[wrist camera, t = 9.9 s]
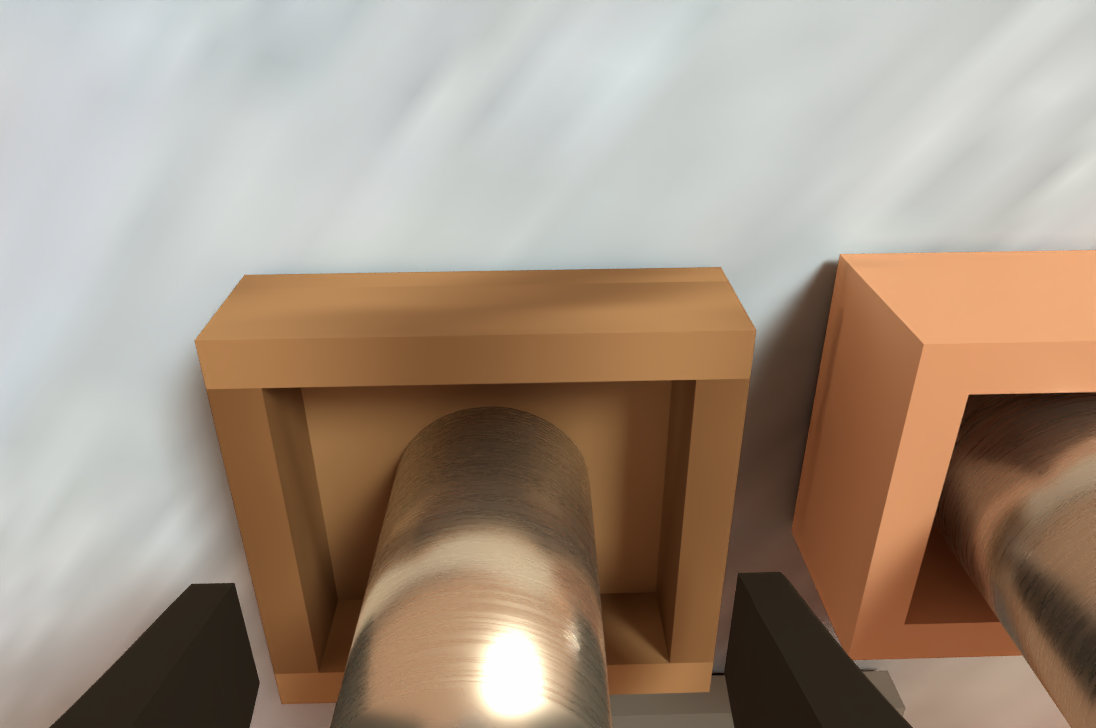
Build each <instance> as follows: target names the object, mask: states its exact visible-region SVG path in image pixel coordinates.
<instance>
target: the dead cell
mask: <svg viewBox="0 0 1096 728" xmlns="http://www.w3.org/2000/svg"><path fill="white" fill-rule="evenodd" d="M933 523H934V525H935V526H936V528H937V529H938V531H939V532H940V534H941V535H942V537H943V538H944V540H945V541H946V543H947V544H948V546H949V547H950V549H951V550H952V552H953V553H954V554H955V556H956V557H957V559H958V560H959V562H960V563H961V565H962V566H963V568H964V569H965V571H966V572H967V574H968V575H969V577H970V578H971V580H972V581H973V583H974V584H975V586H976V587H977V589H978V590H979V592H980V593H981V594H982V596H983V597H984V599H985V600H986V602H987V603H988V605H989V606H990V608H991V609H992V611H993V612H994V614H995V615H996V617H997V618H998V620H999V621H1000V623H1001V624H1002V626H1003V627H1004V629H1005V630H1006V631H1007V633H1008V634H1009V636H1010V637H1011V639H1012V640H1013V642H1014V643H1015V645H1016V646H1017V648H1018V649H1019V651H1020V652H1021V654H1022V655H1023V657H1024V658H1025V660H1026V661H1027V663H1028V664H1029V666H1030V667H1031V669H1032V670H1033V671H1034V673H1035V674H1036V676H1037V677H1038V679H1039V680H1040V682H1041V683H1042V685H1043V686H1044V688H1045V689H1046V691H1047V692H1048V694H1049V695H1050V697H1051V698H1052V700H1053V701H1054V703H1055V704H1056V706H1057V707H1058V708H1059V710H1060V711H1061V713H1062V714H1063V716H1064V717H1065V719H1066V720H1067V722H1068V723H1069V725H1070V726H1071V728H1096V392H1071V393H1020V394H970V395H968V399H967V402H966V406H965V410H964V413H963V417H962V420H961V424H960V427H959V431H958V434H957V438H956V442H955V445H954V449H953V452H952V456H951V459H950V463H949V467H948V470H947V474H946V477H945V481H944V484H943V488H942V492H941V495H940V499H939V502H938V506H937V509H936V513H935V517H934V520H933Z"/></svg>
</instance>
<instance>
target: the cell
mask: <svg viewBox="0 0 1096 728" xmlns="http://www.w3.org/2000/svg"><path fill="white" fill-rule="evenodd" d="M330 728H612V720H611V709H610V697H609V686H608V675H607V664H606V653H605V642H604V631H603V620H602V609H601V598H600V587H599V576H598V565H597V554H596V543H595V532H594V521H593V510H592V499H591V488H590V478H589V473H588V469H587V466H586V463H585V461H584V458H583V456H582V455H581V453H580V451H579V449H578V448H577V447H576V445H575V444H574V443H573V442H572V440H571V439H570V438H569V437H568V436H567V435H566V434H565V433H564V432H563V431H561V430H560V429H559V428H557V427H556V426H555V425H553V424H552V423H550V422H548V421H546V420H544V419H543V418H541V417H538V416H536V415H533V414H531V413H528V412H525V411H521V410H518V409H512V408H506V407H493V406H487V407H474V408H469V409H463V410H460V411H457V412H453V413H450V414H448V415H446V416H443V417H441V418H439V419H437V420H436V421H434V422H432V423H431V424H429V425H428V426H426V427H425V428H424V429H423V430H421V431H420V432H419V433H418V434H417V435H416V436H415V437H414V438H413V439H412V440H411V442H410V443H409V445H408V446H407V447H406V449H405V451H404V453H403V455H402V457H401V459H400V461H399V465H398V468H397V472H396V475H395V479H394V483H393V487H392V491H391V495H390V499H389V503H388V506H387V510H386V514H385V518H384V522H383V526H382V530H381V533H380V537H379V541H378V545H377V549H376V553H375V557H374V560H373V564H372V568H371V572H370V576H369V580H368V584H367V587H366V591H365V595H364V599H363V603H362V607H361V611H360V615H359V618H358V622H357V626H356V630H355V634H354V638H353V642H352V645H351V649H350V653H349V657H348V661H347V665H346V669H345V672H344V676H343V680H342V684H341V688H340V692H339V696H338V700H337V703H336V707H335V711H334V715H333V719H332V723H331V727H330Z"/></svg>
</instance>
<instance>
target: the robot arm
mask: <svg viewBox="0 0 1096 728" xmlns="http://www.w3.org/2000/svg"><path fill="white" fill-rule="evenodd" d="M724 674H725V679H726V685H727V691H728V696H729V702H730V708H731V713H732V718H733V724H734V728H913V727H912V726H911V725H910V724H909V723H908V722H907V721H906V720H905V719H904V718H903V717H902V716H901V715H900V713H899V712H898V711H897V710H896V709H895V708H894V707H893V706H892V705H891V704H890V703H889V702H888V700H887V699H886V698H885V697H884V696H883V695H882V694H881V692H880V691H879V690H878V689H877V688H876V687H875V686H874V684H873V683H872V682H871V681H870V680H869V679H868V678H867V676H866V675H865V674H864V673H863V672H862V671H861V670H860V669H859V667H858V666H857V665H856V664H855V663H854V662H853V660H852V659H851V658H850V657H849V656H848V654H847V653H846V652H845V651H844V650H843V648H842V647H841V646H840V645H839V644H838V642H837V641H836V640H835V639H834V637H833V636H832V635H831V634H830V633H829V631H828V630H827V629H826V628H825V626H824V625H823V624H822V623H821V621H820V620H819V619H818V618H817V616H816V615H815V614H814V613H813V611H812V610H811V609H810V608H809V606H808V605H807V604H806V602H805V601H804V600H803V599H802V597H801V596H800V595H799V593H798V592H797V591H796V590H795V588H794V587H793V586H792V584H791V583H790V582H789V580H788V579H787V578H786V577H785V576H784V575H783V574H782V573H781V572H765V573H738V578H737V585H736V593H735V600H734V607H733V614H732V621H731V628H730V636H729V643H728V650H727V657H726V664H725V671H724ZM259 684H260V682H259V678H258V674H257V670H256V666H255V663H254V659H253V655H252V651H251V647H250V643H249V639H248V635H247V631H246V627H245V623H244V619H243V615H242V611H241V607H240V603H239V599H238V595H237V591H236V587H235V583H215V584H191V585H190V586H189V587H188V588H187V589H186V590H185V591H184V592H183V593H182V594H181V595H180V596H179V597H178V598H177V599H176V600H175V601H174V602H173V603H172V604H171V605H170V606H169V607H168V608H167V609H166V610H165V611H164V612H163V613H162V614H161V616H160V617H159V618H158V619H157V620H156V621H155V622H154V623H153V624H152V625H151V626H150V627H149V628H148V629H147V630H146V631H145V632H144V633H143V634H142V635H141V636H140V637H139V639H138V640H137V641H136V642H135V643H134V644H133V645H132V646H131V647H130V648H129V649H128V650H127V651H126V652H125V653H124V654H123V655H122V656H121V657H120V658H119V659H118V660H117V661H116V662H115V663H114V664H113V665H112V666H111V667H110V668H109V669H108V670H107V671H106V672H105V673H104V674H103V675H102V676H101V677H100V678H99V679H98V680H97V681H96V682H95V683H94V684H93V685H92V686H91V687H90V688H89V689H88V690H87V691H86V692H85V693H84V694H83V695H82V696H81V697H80V698H79V699H78V700H77V701H76V702H75V703H74V704H73V705H72V706H71V707H70V708H69V709H68V710H67V711H66V712H65V713H64V714H63V715H62V716H61V717H60V718H59V719H58V720H57V721H56V722H55V723H54V724H53V725H52V726H50V727H49V728H249V727H250V723H251V719H252V715H253V710H254V706H255V701H256V697H257V693H258V688H259Z"/></svg>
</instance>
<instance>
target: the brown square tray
mask: <svg viewBox="0 0 1096 728" xmlns="http://www.w3.org/2000/svg"><path fill="white" fill-rule="evenodd" d="M755 337H756V329H755V327H754V325H753V324H752V322H751V320H750V318H749V316H748V315H747V313H746V311H745V309H744V308H743V306H742V304H741V302H740V300H739V299H738V297H737V295H736V293H735V292H734V290H733V288H732V286H731V284H730V283H729V281H728V279H727V277H726V276H725V274H724V272H723V270H722V268H721V267H703V268H642V269H581V270H520V271H459V272H398V273H337V274H275V275H244V277H243V278H242V279H241V280H240V282H239V283H238V284H237V286H236V287H235V288H234V290H233V291H232V292H231V294H230V295H229V296H228V297H227V299H226V300H225V301H224V303H223V304H222V305H221V307H220V308H219V309H218V311H217V312H216V313H215V314H214V316H213V317H212V318H211V320H210V321H209V322H208V324H207V325H206V326H205V328H204V329H203V330H202V331H201V333H200V334H199V335H198V337H197V338H196V339H195V344H196V348H197V353H198V357H199V361H200V365H201V369H202V373H203V378H204V382H205V386H206V390H207V394H208V399H209V403H210V407H211V411H212V415H213V419H214V424H215V428H216V432H217V436H218V440H219V444H220V449H221V453H222V457H223V461H224V465H225V470H226V474H227V478H228V482H229V486H230V490H231V495H232V499H233V503H234V507H235V511H236V515H237V520H238V524H239V528H240V532H241V536H242V540H243V545H244V549H245V553H246V557H247V561H248V566H249V570H250V574H251V578H252V582H253V586H254V591H255V595H256V599H257V603H258V607H259V611H260V616H261V620H262V624H263V628H264V632H265V637H266V641H267V645H268V649H269V653H270V657H271V662H272V666H273V670H274V674H275V678H276V682H277V687H278V691H279V695H280V699H281V703H282V704H298V703H334V702H337V700H338V696H339V692H340V688H341V684H342V680H343V676H344V672H345V669H346V665H347V661H348V657H349V653H350V649H351V645H352V642H353V638H354V634H355V630H356V626H357V622H358V618H359V615H360V611H361V607H362V603H363V599H364V595H365V591H366V587H367V584H368V580H369V576H370V572H371V568H372V564H373V560H374V557H375V553H376V549H377V545H378V541H379V537H380V533H381V530H382V526H383V522H384V518H385V514H386V510H387V506H388V503H389V499H390V495H391V491H392V487H393V483H394V479H395V475H396V472H397V468H398V465H399V461H400V459H401V457H402V455H403V453H404V451H405V449H406V447H407V446H408V445H409V443H410V442H411V440H412V439H413V438H414V437H415V436H416V435H417V434H418V433H419V432H420V431H421V430H423V429H424V428H425V427H426V426H428V425H429V424H431V423H432V422H434V421H436V420H437V419H439V418H441V417H443V416H446V415H448V414H450V413H453V412H457V411H460V410H463V409H469V408H474V407H487V406H493V407H506V408H512V409H518V410H521V411H525V412H528V413H531V414H533V415H536V416H538V417H541V418H543V419H544V420H546V421H548V422H550V423H552V424H553V425H555V426H556V427H557V428H559V429H560V430H561V431H563V432H564V433H565V434H566V435H567V436H568V437H569V438H570V439H571V440H572V442H573V443H574V444H575V445H576V447H577V448H578V449H579V451H580V453H581V455H582V456H583V458H584V461H585V463H586V466H587V469H588V473H589V478H590V488H591V499H592V510H593V521H594V532H595V543H596V554H597V565H598V576H599V587H600V598H601V609H602V620H603V631H604V642H605V653H606V664H607V675H608V686H609V695H622V694H658V693H694V692H709V691H710V684H711V676H712V668H713V661H714V653H715V645H716V637H717V630H718V622H719V614H720V607H721V599H722V591H723V583H724V576H725V568H726V560H727V553H728V545H729V537H730V529H731V522H732V514H733V506H734V499H735V491H736V483H737V475H738V468H739V460H740V452H741V445H742V437H743V429H744V422H745V414H746V406H747V398H748V391H749V383H750V375H751V368H752V360H753V352H754V344H755Z"/></svg>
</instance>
